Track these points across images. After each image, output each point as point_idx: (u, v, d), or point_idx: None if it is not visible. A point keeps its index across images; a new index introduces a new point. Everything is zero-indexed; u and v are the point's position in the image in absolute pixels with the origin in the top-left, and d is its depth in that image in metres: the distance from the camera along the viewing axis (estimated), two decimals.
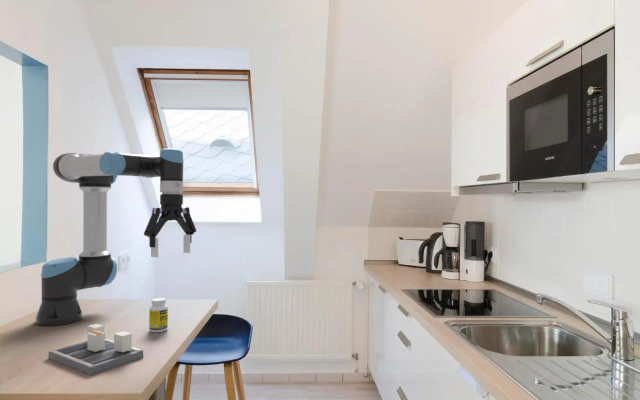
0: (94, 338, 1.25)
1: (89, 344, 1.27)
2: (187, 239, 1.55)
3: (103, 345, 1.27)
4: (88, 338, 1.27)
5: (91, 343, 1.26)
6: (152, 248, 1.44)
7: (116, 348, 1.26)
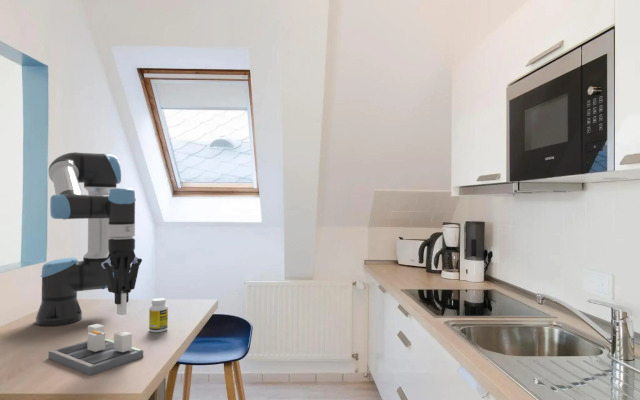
0: (94, 338, 1.25)
1: (89, 344, 1.27)
2: None
3: (103, 345, 1.27)
4: (88, 338, 1.27)
5: (91, 343, 1.26)
6: (118, 305, 1.34)
7: (116, 348, 1.26)
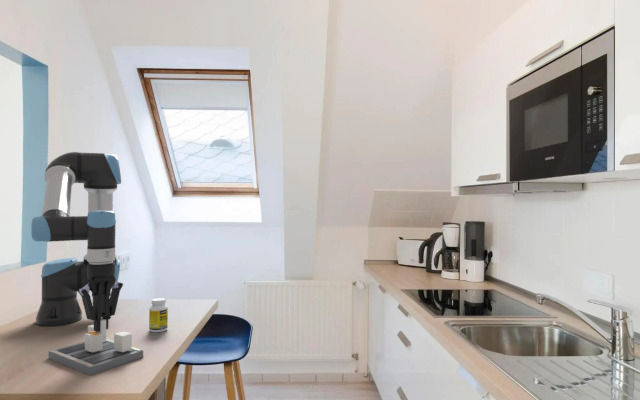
0: (91, 339, 1.25)
1: (87, 344, 1.26)
2: None
3: (100, 346, 1.27)
4: (85, 339, 1.26)
5: (89, 344, 1.25)
6: None
7: (116, 348, 1.26)
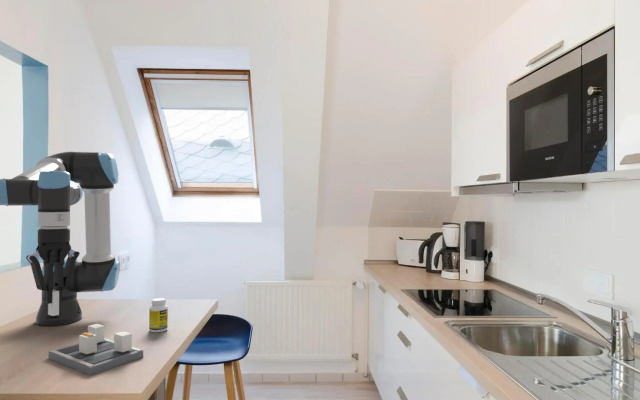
0: (85, 341, 1.23)
1: (81, 346, 1.25)
2: None
3: (95, 347, 1.25)
4: (80, 340, 1.25)
5: (83, 346, 1.24)
6: (49, 304, 1.17)
7: (116, 348, 1.26)
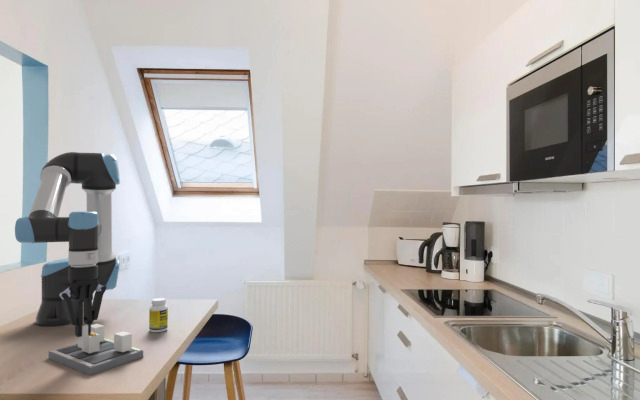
0: (88, 340, 1.24)
1: None
2: None
3: (98, 347, 1.26)
4: None
5: None
6: (79, 337, 1.24)
7: (116, 348, 1.26)
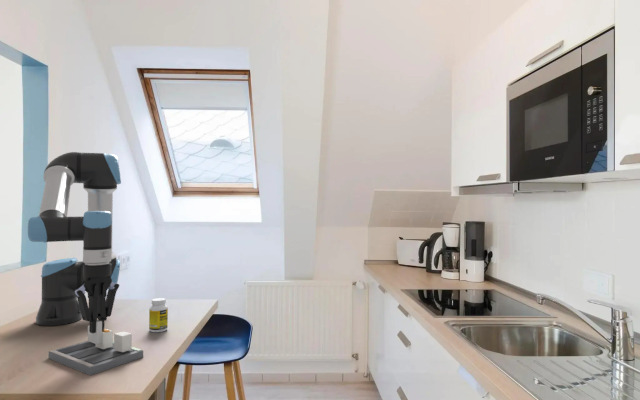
0: (102, 336, 1.28)
1: None
2: None
3: (111, 343, 1.29)
4: None
5: None
6: (93, 333, 1.27)
7: (116, 348, 1.26)
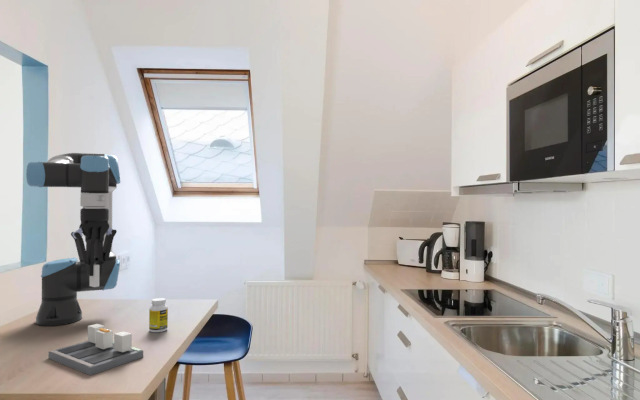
0: (102, 336, 1.28)
1: (97, 341, 1.29)
2: None
3: (111, 343, 1.29)
4: (96, 336, 1.29)
5: (99, 341, 1.28)
6: (90, 276, 1.29)
7: (116, 348, 1.26)
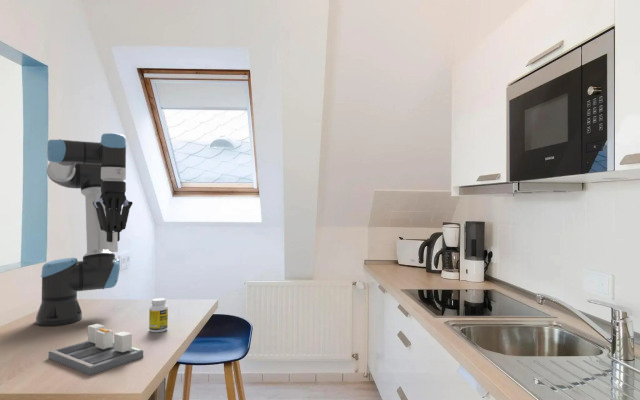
0: (102, 336, 1.28)
1: (97, 341, 1.29)
2: None
3: (111, 343, 1.29)
4: (96, 336, 1.29)
5: (99, 341, 1.28)
6: (109, 243, 1.43)
7: (116, 348, 1.26)
